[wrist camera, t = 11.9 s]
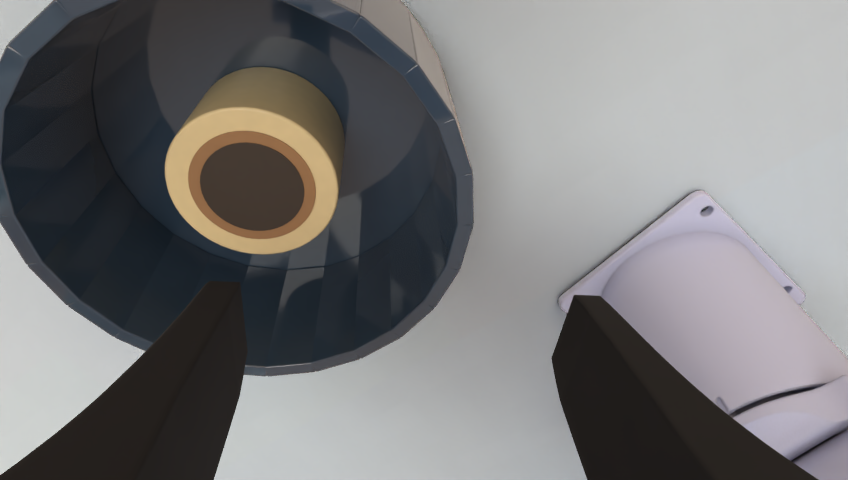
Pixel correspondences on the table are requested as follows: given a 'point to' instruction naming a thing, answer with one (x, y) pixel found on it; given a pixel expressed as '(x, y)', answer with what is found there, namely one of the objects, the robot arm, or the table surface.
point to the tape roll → (258, 162)
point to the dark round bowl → (165, 115)
